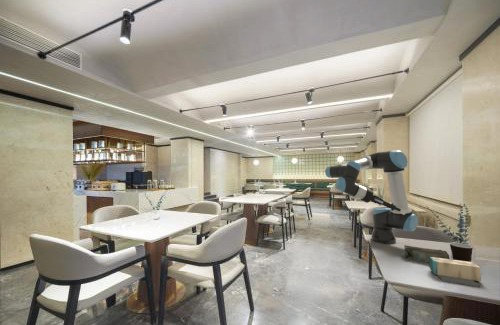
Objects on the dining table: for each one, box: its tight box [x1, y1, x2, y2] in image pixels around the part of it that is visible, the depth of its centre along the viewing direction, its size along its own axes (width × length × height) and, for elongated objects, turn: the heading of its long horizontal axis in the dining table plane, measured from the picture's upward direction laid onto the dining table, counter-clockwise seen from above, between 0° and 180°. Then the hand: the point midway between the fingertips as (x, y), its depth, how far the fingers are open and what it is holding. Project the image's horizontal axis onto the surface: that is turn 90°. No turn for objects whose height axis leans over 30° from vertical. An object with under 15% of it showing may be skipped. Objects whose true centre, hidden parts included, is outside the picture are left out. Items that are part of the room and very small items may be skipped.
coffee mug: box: [449, 242, 474, 262], centre depth 112 cm, size 12×9×10 cm
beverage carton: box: [403, 244, 451, 264], centre depth 116 cm, size 8×19×7 cm, turn 56°
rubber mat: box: [429, 265, 480, 288], centre depth 98 cm, size 16×12×1 cm
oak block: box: [429, 257, 482, 282], centre depth 98 cm, size 6×6×16 cm
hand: (404, 212), depth 115 cm, fingers closed
